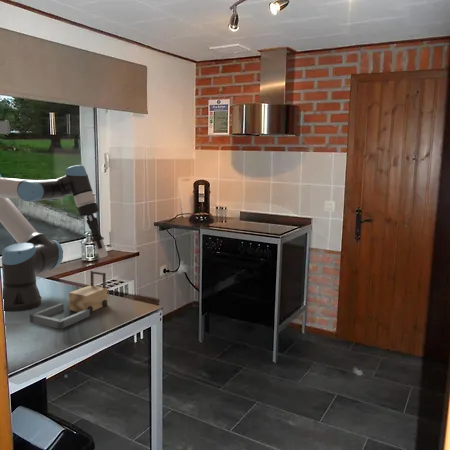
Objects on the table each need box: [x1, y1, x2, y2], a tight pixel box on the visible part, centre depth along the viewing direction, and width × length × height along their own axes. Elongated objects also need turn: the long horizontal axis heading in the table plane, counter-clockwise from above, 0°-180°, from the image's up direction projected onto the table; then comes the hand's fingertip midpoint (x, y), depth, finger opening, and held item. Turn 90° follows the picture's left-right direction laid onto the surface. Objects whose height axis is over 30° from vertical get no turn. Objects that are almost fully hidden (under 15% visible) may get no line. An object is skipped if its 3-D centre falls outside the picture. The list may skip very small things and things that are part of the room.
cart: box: [68, 270, 108, 314], centre depth 175 cm, size 9×12×13 cm
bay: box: [29, 302, 91, 330], centre depth 163 cm, size 14×14×2 cm
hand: (104, 256), depth 178 cm, fingers open, 13 cm apart
